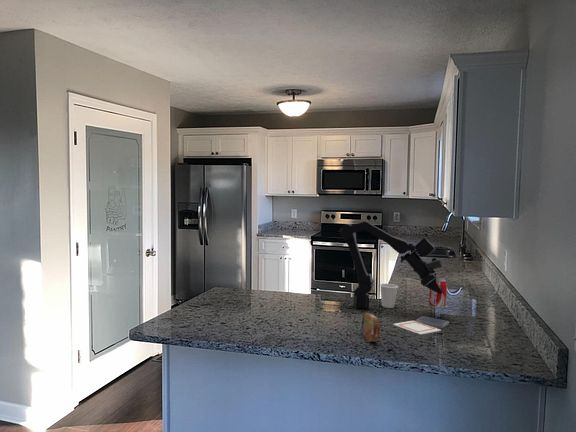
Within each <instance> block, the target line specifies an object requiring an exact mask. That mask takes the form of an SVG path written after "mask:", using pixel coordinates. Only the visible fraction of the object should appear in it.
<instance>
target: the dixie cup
mask: <svg viewBox="0 0 576 432" xmlns="http://www.w3.org/2000/svg"><path fill="white" fill-rule="evenodd" d="M379 286H380V297H381V299H380V300H381V307H382V306H383V308H386V309H393V308H395V303H396V299H397V294H398V293H397V292H398V288H399V286H398V285H397V284H393V283H380V285H379Z"/></svg>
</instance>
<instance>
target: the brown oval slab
mask: <svg viewBox="0 0 576 432" xmlns="http://www.w3.org/2000/svg"><path fill="white" fill-rule="evenodd" d="M380 322H381V321H379V319H378V317H376V316H375V315H374V314H373V313H371V312H370V313H369V312H364V314H363V315H362V320H361V333H362V335H363V337H364V338H365V339H366V340H367V342H369V343H377V342H378V341H379V338H380V330H381V323H380Z"/></svg>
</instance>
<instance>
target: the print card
mask: <svg viewBox="0 0 576 432" xmlns="http://www.w3.org/2000/svg"><path fill="white" fill-rule="evenodd" d="M392 325H393V326H395V327H398V328H401V329H404V330H407V331H410V332H413V333H415V334H418V335H427V334H431V333H436V332H437V333H438V332H441V331H442V329H441V328H440V329H439V328H438V327H434V326H430V325H425V324H422V323H419V322H416V320H409V321H408V320H407V321H403V322H396V323H392Z"/></svg>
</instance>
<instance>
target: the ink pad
mask: <svg viewBox="0 0 576 432" xmlns="http://www.w3.org/2000/svg"><path fill="white" fill-rule="evenodd" d="M415 321H416V322H419V323H422V324H425V325H428V326H431V327H434V328H438V329H439V328H440V329H444V328H446V327H447V326H448V325H449V324H450V321H448V320H444V319H439V318H434V317H430V316H425V315H422V316H420V317H418V318H416V319H415Z"/></svg>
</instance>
